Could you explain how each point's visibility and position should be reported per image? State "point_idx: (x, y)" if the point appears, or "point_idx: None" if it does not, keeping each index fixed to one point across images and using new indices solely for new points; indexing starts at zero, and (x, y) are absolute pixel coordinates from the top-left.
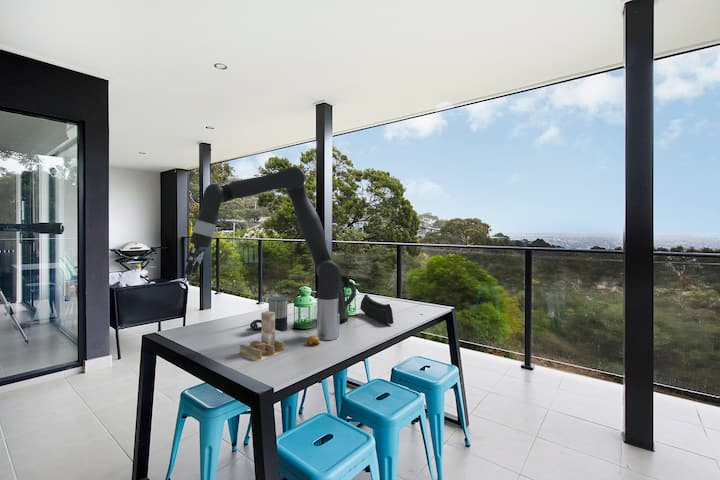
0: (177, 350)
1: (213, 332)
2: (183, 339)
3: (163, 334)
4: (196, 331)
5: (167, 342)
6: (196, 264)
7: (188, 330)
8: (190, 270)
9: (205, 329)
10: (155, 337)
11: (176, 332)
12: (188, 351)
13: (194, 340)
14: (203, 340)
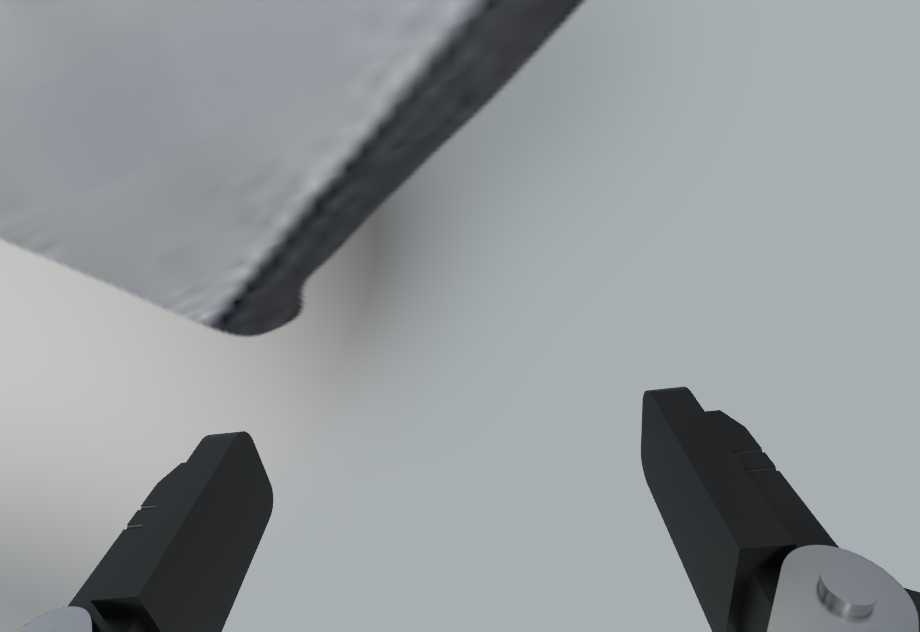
0: (470, 108)
1: (63, 21)
2: (275, 162)
3: (218, 293)
4: (97, 156)
5: (340, 218)
6: (163, 626)
7: (99, 211)
8: (736, 455)
9: (24, 115)
10: (273, 302)
11: (163, 253)
12: (492, 33)
13: (281, 88)
14: (269, 23)
